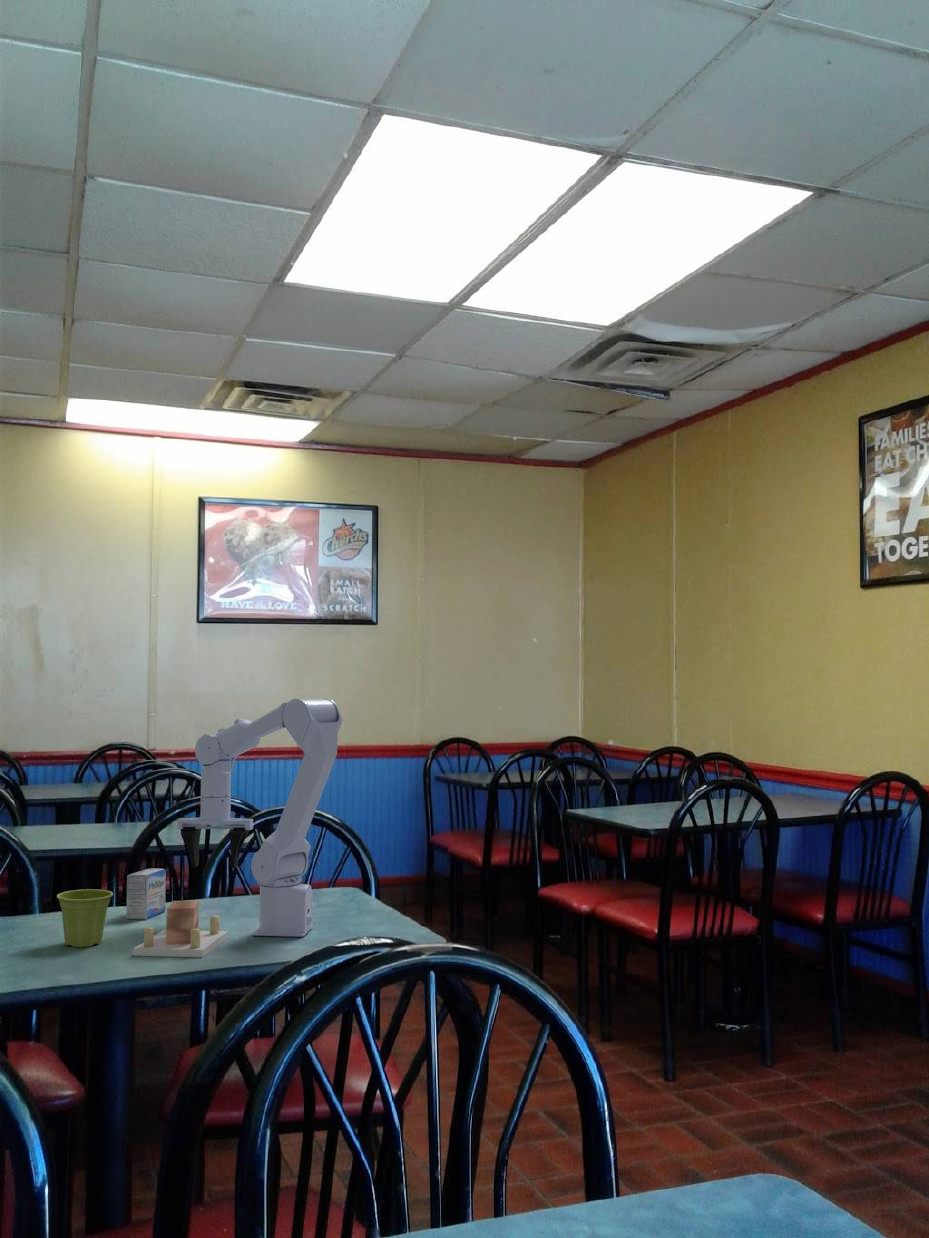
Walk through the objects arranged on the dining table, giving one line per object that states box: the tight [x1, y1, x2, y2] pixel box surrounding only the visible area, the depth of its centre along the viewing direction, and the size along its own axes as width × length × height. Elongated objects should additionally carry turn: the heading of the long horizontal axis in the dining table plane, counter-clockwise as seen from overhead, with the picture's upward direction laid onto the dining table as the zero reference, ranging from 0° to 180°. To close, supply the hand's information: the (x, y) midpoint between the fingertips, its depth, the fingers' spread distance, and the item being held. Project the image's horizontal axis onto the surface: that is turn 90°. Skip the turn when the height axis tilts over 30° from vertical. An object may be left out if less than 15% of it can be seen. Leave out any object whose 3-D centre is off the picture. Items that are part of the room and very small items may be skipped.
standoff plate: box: [133, 914, 229, 958], centre depth 187 cm, size 12×14×4 cm
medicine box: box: [126, 867, 167, 921], centre depth 213 cm, size 8×4×9 cm, turn 168°
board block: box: [166, 899, 200, 944], centre depth 188 cm, size 4×7×6 cm, turn 7°
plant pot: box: [56, 888, 114, 948], centre depth 190 cm, size 9×9×9 cm
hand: (214, 866), depth 208 cm, fingers open, 7 cm apart
